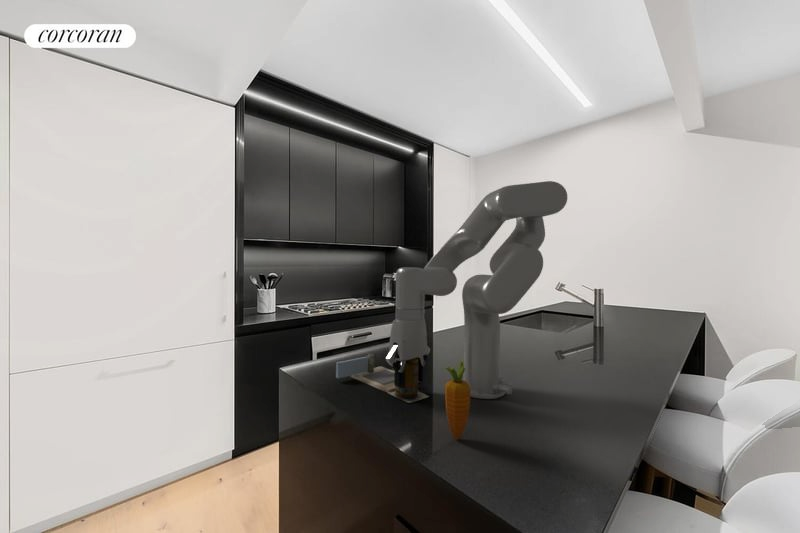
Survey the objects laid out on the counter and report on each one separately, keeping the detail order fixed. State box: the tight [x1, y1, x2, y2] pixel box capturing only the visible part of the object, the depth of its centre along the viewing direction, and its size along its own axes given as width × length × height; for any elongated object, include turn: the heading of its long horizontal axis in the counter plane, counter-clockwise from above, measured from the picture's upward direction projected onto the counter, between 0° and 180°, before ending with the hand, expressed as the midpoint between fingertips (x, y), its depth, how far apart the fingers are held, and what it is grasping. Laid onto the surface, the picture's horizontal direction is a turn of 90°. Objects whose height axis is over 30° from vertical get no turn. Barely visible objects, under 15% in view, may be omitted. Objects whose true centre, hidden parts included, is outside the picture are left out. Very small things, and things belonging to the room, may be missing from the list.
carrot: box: [444, 360, 471, 441], centre depth 65 cm, size 5×5×15 cm
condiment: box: [387, 358, 430, 404], centre depth 87 cm, size 7×8×12 cm
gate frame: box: [350, 353, 420, 394], centre depth 99 cm, size 17×12×6 cm
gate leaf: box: [335, 356, 368, 379], centre depth 99 cm, size 10×1×4 cm, turn 130°
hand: (408, 382), depth 87 cm, fingers closed on condiment, 6 cm apart
